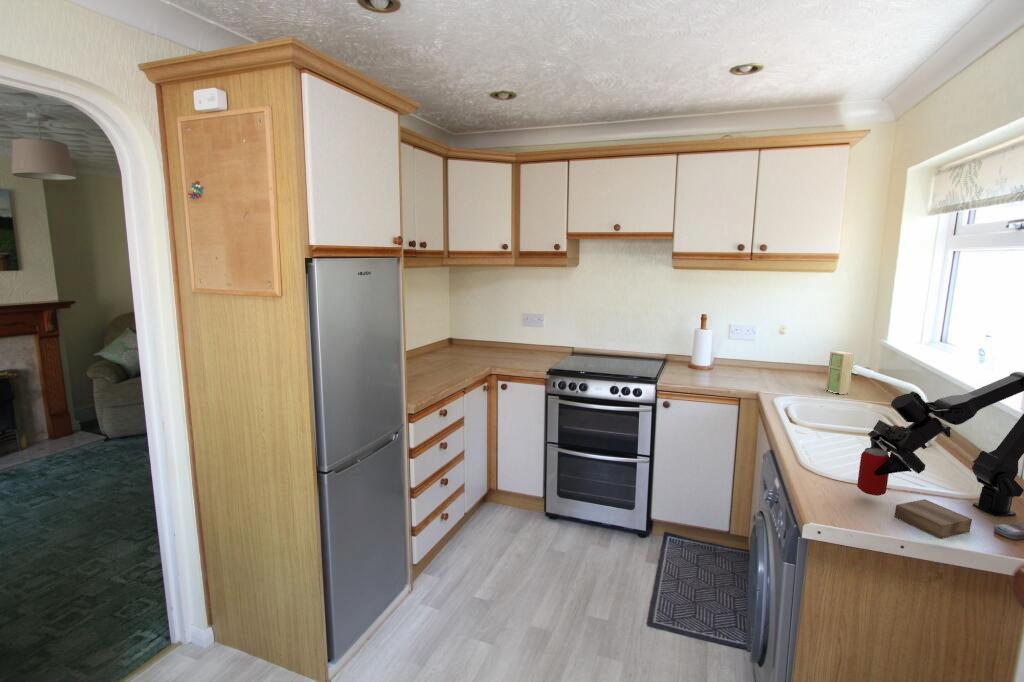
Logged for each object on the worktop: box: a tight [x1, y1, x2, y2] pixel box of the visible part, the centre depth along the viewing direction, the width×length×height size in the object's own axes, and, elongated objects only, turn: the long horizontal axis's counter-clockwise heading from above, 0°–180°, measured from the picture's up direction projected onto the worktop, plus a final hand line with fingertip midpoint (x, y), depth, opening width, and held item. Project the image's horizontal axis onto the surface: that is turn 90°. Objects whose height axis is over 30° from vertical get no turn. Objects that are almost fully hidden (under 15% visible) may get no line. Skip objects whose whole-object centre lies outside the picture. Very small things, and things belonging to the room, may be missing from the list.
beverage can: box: [856, 447, 890, 496], centre depth 144 cm, size 7×7×12 cm
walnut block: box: [893, 498, 973, 540], centre depth 132 cm, size 11×11×4 cm
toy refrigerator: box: [825, 350, 855, 393], centre depth 261 cm, size 8×7×21 cm
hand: (868, 469), depth 144 cm, fingers closed on beverage can, 7 cm apart
